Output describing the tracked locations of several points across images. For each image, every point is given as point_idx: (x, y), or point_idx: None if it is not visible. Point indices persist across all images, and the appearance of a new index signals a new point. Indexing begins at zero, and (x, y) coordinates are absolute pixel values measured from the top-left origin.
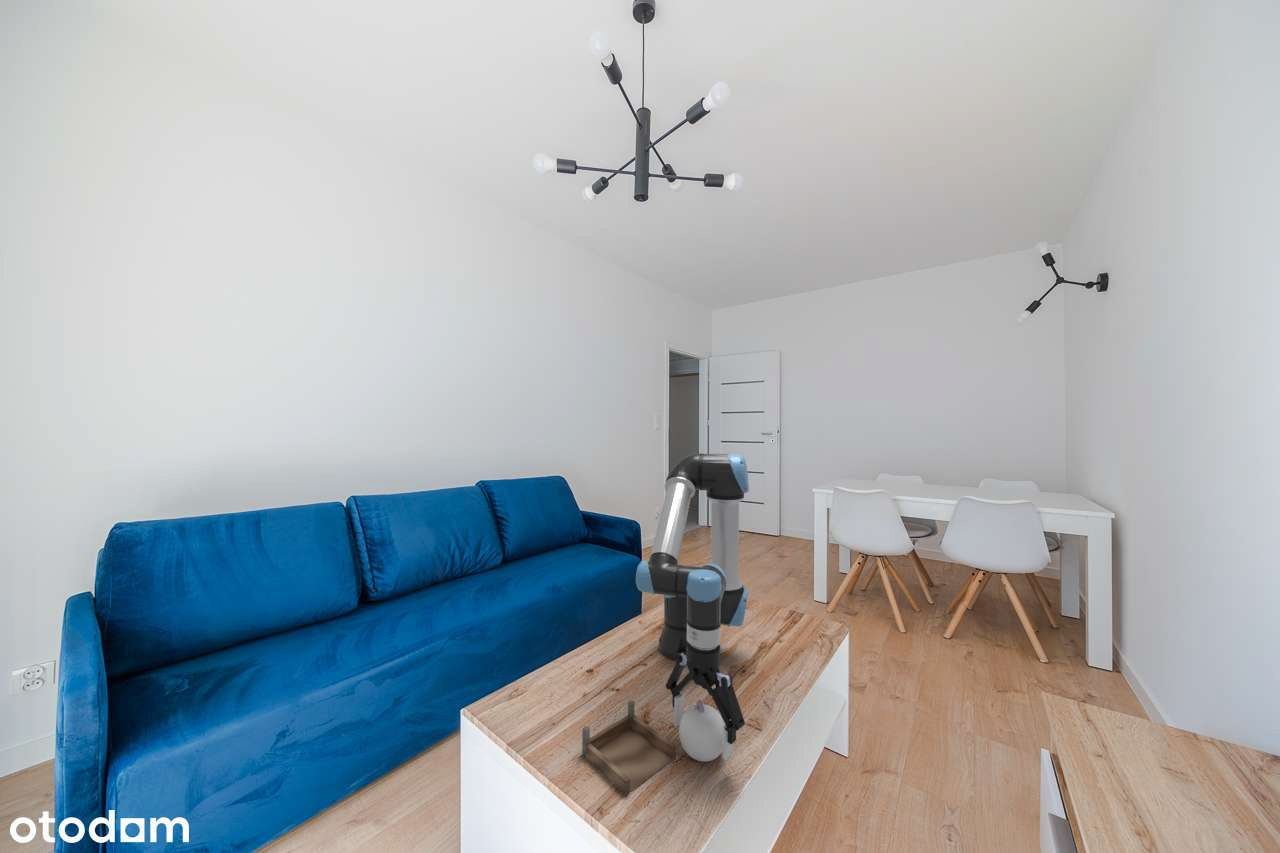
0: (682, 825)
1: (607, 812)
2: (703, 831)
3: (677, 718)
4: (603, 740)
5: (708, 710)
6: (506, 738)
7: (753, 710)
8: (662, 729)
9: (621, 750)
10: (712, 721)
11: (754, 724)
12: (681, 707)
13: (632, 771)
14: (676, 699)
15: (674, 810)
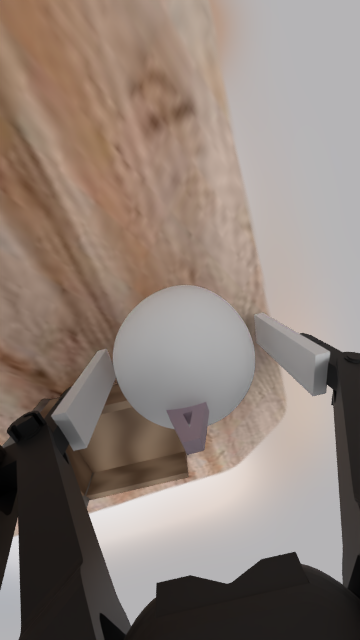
0: (260, 417)
1: (192, 472)
2: (284, 402)
3: (110, 385)
4: (77, 463)
5: (211, 386)
6: (17, 532)
7: (96, 17)
8: (75, 356)
9: (104, 438)
10: (244, 384)
11: (161, 102)
12: (93, 388)
13: (154, 438)
14: (87, 444)
15: (238, 416)
